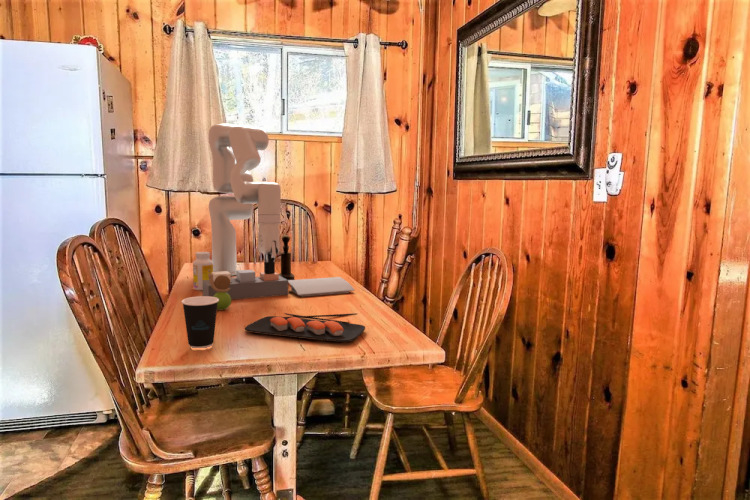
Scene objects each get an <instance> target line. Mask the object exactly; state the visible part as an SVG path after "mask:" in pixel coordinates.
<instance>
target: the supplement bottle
mask: <svg viewBox="0 0 750 500" xmlns="http://www.w3.org/2000/svg"><path fill="white" fill-rule="evenodd" d="M210 256H211V252H209V251H197V252H195V257H196V259H194V260H193V262H192V274H193V275H192V280H193V290H195V291H203V280H209V277H208V275H209V274H212V272H213V261H212V259H210ZM208 270H210V272H208Z"/></svg>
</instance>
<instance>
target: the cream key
mask: <svg viewBox="0 0 750 500" xmlns="http://www.w3.org/2000/svg"><path fill="white" fill-rule="evenodd" d="M212 274H213V280H214V281H215V279H216V277H218V276H220V275H225V276H227V277H229V279H230V283H231V278H232V276H231V273H229V272H228V271H221V272H212Z"/></svg>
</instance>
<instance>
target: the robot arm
mask: <svg viewBox="0 0 750 500" xmlns="http://www.w3.org/2000/svg"><path fill="white" fill-rule="evenodd" d="M269 142H270V141H269V134H268V133H267V131H266V130H265V129H264V128H263V127H259V126H250V125H249V126H248V125H239V124H238V125H237V124H232V123H231V124H229V123H217V124H213V125H212V126H211V127H210V128H209V131H208V143H209V145H208V146H209V148H210V151H211V156H212V185H213V186H212V187H213V189H214V190H215V192H218V193H225V194H233V195H231V196H230V195H221V196H220V195H219V196H218V195H217V196H214V197H213V198H211V199H210V200H209V201H208V213H209V217H210V224H211V225H210V226H211V260H212V261H213V272H221V271H228V272H229V273H231V277H233V276H236V271H239V270H240V269H238V268H237V230H236V227H235V226H234V225H233V224H232V222H231V221H233V220H234V221H237V220H238V221H239V220H240V221H241V220H242V221H243V220H248V219H250V218H252V216H253V214H254V204H257V224H258V233H257V234H258V236H257V251H259V253H261V254H263V265H264V266H263V268H264V269H263V270H264V271H263V272H264V273H265V274H274V273H275V272H276V269H275V268H276V266H275V265H276V258H277V255H278V254H279V253H280V247H281V246H280V245H281V244H280V228H279V225H281V224H282V223H281V222H282V214H281V213H282V211H281V210H282V207H281V202H282V199H281V197H282V194H281V193H282V190H281V188H282V187H281V185H280V184H279V183H277V182H269V181H254V177H253V175H252V173H251V172H250V171H251V170H254V169H256V168H257V167H258V166H259V165H260V162H261V155H260V153H259V151H265V150H266V149H267V147H269ZM230 148H231V149H230Z"/></svg>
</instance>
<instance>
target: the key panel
mask: <svg viewBox="0 0 750 500" xmlns="http://www.w3.org/2000/svg"><path fill="white" fill-rule="evenodd" d="M228 288H231V289H230V290H229V291H228V292H226V293H228V294H229V295H230V297H231V301H232V300H241V299H254V298H265V297H266V298H267V297H276V296H277V297H278V296H280V297H281V296H288V295H289V283H288V280H287V279H285V278H283V277H281V276H279V280H268V281H263V280H261V279H260V276H255V281H253V282H238V281H237V279H236V277H235V278H234V277H231V283H230V286H229V287H228ZM216 293H218V292H217V291H215V290H213V289H212V287H211V284H210V281H209V280H203V290H202V296H210V297H213V296H214V295H215V294H216Z"/></svg>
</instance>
